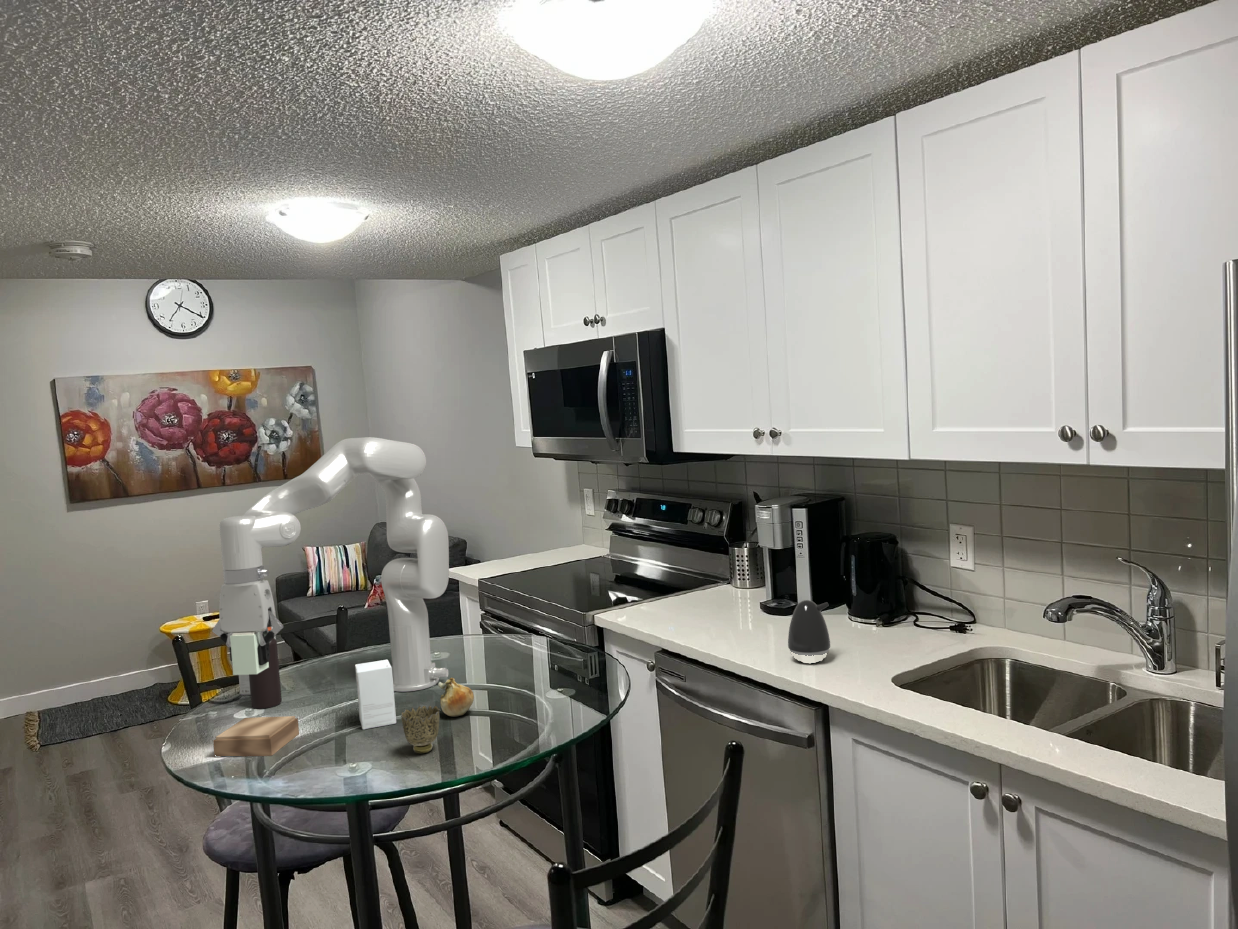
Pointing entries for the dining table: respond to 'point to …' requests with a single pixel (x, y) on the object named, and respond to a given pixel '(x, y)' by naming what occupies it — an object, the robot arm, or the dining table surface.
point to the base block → (256, 736)
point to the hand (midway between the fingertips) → (250, 663)
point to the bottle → (267, 682)
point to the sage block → (245, 654)
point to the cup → (421, 727)
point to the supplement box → (375, 694)
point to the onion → (455, 698)
